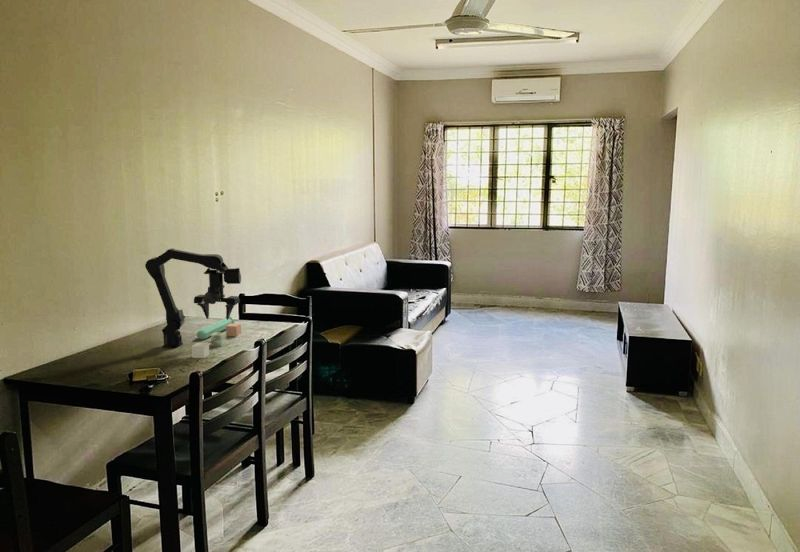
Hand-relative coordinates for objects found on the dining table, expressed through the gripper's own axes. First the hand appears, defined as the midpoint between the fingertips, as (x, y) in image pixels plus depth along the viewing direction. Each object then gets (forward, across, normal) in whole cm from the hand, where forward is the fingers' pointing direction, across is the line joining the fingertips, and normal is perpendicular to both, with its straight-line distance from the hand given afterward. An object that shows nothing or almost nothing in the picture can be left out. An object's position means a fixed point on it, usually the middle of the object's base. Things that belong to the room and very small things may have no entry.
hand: (217, 319), depth 259 cm
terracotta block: (+12, 0, +16) cm, 20 cm away
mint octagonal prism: (+12, -10, +18) cm, 24 cm away
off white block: (+12, 0, -17) cm, 20 cm away
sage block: (+12, 0, 0) cm, 12 cm away
